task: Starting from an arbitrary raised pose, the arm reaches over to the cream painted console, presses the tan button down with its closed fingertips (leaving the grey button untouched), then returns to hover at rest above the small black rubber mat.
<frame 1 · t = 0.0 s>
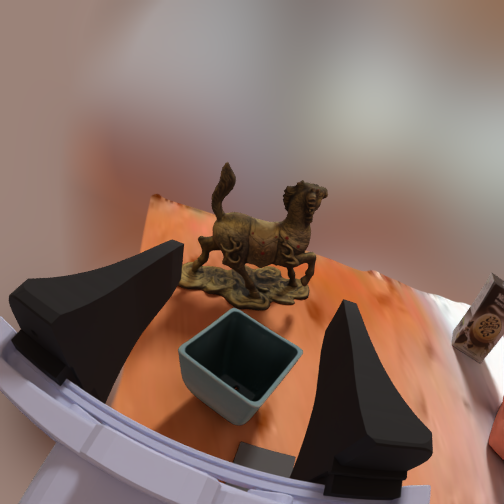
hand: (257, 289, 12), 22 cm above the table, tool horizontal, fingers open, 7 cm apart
coffee box: (466, 348, 46), on the table
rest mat: (260, 474, 22), on the table
figurine: (240, 285, 49), on the table
teapot: (500, 430, 27), on the table
flower pot: (227, 399, 30), on the table
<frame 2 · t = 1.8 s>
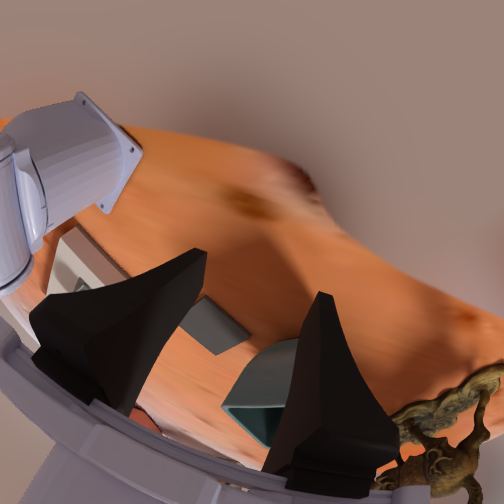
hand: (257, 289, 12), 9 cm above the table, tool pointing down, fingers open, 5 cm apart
grey button: (81, 317, 27), point 5 cm above the table, slide at 0.0 cm
console: (96, 308, 34), on the table
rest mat: (211, 327, 29), on the table
figurine: (433, 414, 28), on the table
teapot: (147, 419, 54), on the table
flower pot: (308, 350, 27), on the table
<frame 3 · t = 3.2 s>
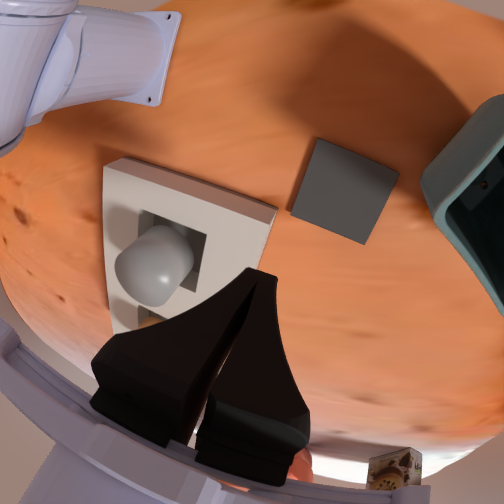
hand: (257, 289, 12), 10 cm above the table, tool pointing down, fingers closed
coffee box: (395, 455, 39), on the table
grey button: (154, 265, 21), point 5 cm above the table, slide at 0.0 cm
console: (178, 280, 28), on the table
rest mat: (343, 192, 19), on the table
tan button: (152, 346, 27), point 5 cm above the table, slide at 0.0 cm
teapot: (285, 439, 42), on the table
flower pot: (468, 166, 15), on the table
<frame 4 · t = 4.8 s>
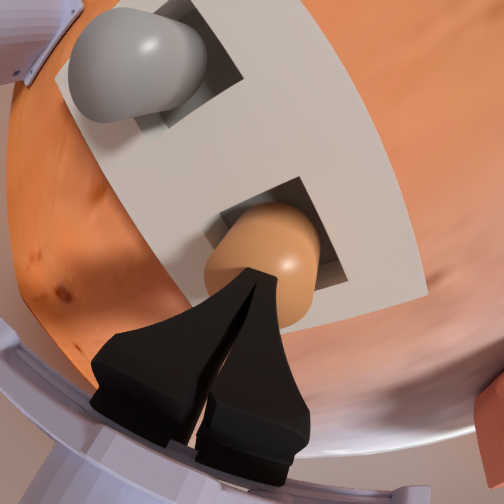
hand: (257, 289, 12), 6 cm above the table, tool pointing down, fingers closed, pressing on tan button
grey button: (137, 64, 10), point 5 cm above the table, slide at 0.0 cm
console: (237, 145, 15), on the table
tan button: (267, 264, 14), point 4 cm above the table, slide at 0.9 cm, touching gripper
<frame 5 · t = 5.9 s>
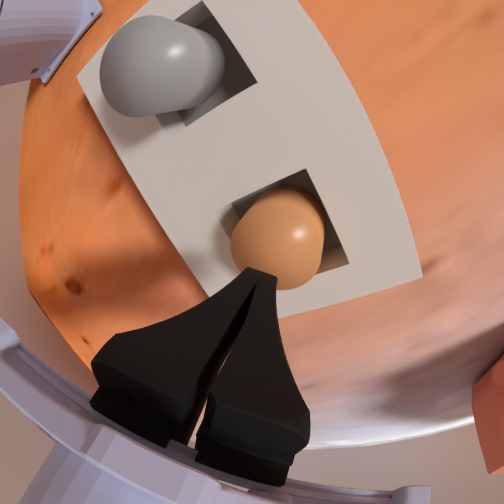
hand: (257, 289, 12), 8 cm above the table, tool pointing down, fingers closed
grey button: (163, 66, 11), point 5 cm above the table, slide at 0.0 cm
console: (249, 141, 17), on the table
tan button: (281, 235, 17), point 3 cm above the table, slide at 2.2 cm
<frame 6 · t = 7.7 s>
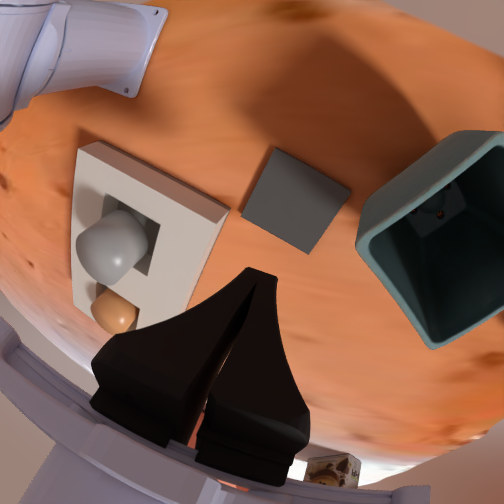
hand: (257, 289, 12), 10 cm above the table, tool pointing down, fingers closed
coffee box: (335, 459, 43), on the table
grey button: (111, 247, 21), point 5 cm above the table, slide at 0.0 cm
console: (135, 261, 29), on the table
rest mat: (294, 202, 21), on the table
tan button: (116, 308, 30), point 3 cm above the table, slide at 2.2 cm
flower pot: (427, 194, 18), on the table
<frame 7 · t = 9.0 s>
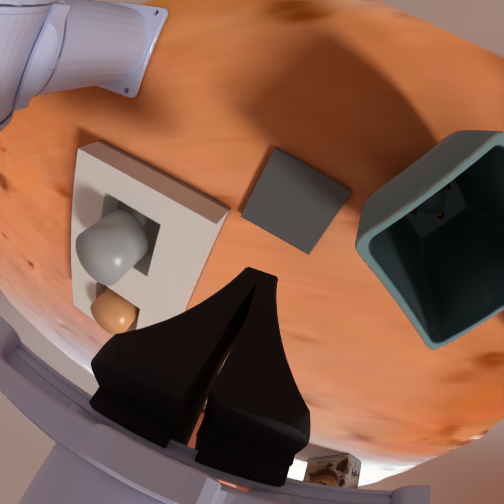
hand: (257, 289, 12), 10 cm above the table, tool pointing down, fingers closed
coffee box: (335, 459, 43), on the table
grey button: (111, 247, 21), point 5 cm above the table, slide at 0.0 cm
console: (135, 261, 29), on the table
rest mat: (294, 202, 21), on the table
tan button: (116, 308, 30), point 3 cm above the table, slide at 2.2 cm
flower pot: (427, 194, 18), on the table
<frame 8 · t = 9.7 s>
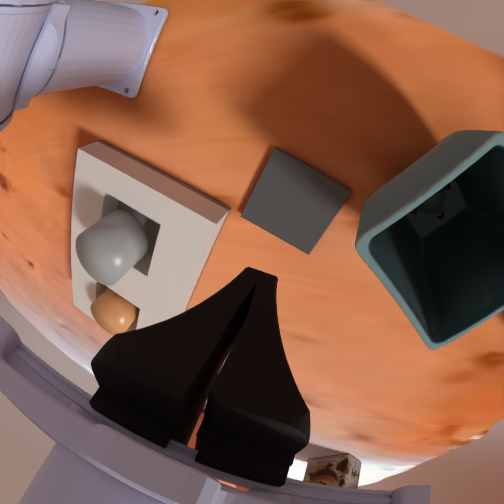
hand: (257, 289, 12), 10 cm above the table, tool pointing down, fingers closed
coffee box: (335, 459, 43), on the table
grey button: (111, 247, 21), point 5 cm above the table, slide at 0.0 cm
console: (135, 261, 29), on the table
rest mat: (294, 202, 21), on the table
tan button: (116, 308, 30), point 3 cm above the table, slide at 2.2 cm
flower pot: (427, 194, 18), on the table
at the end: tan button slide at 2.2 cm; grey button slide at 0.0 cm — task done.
